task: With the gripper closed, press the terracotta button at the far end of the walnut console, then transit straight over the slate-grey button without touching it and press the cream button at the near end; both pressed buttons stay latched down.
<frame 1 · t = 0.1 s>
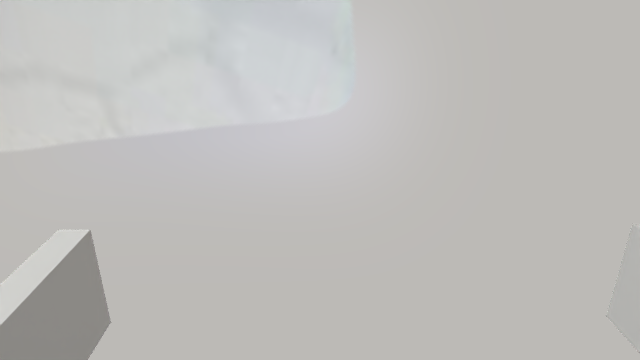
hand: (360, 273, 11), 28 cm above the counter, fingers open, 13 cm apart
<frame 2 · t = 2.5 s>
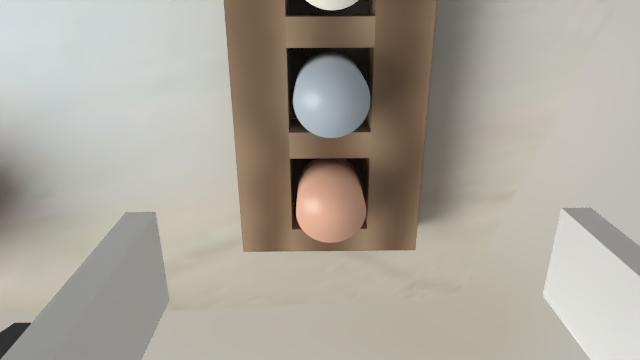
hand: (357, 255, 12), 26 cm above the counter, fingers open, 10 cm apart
console: (328, 81, 36), on the counter
button slate: (330, 93, 32), point 5 cm above the counter, slide at 0.0 cm
button terracotta: (329, 197, 35), point 4 cm above the counter, slide at 0.0 cm
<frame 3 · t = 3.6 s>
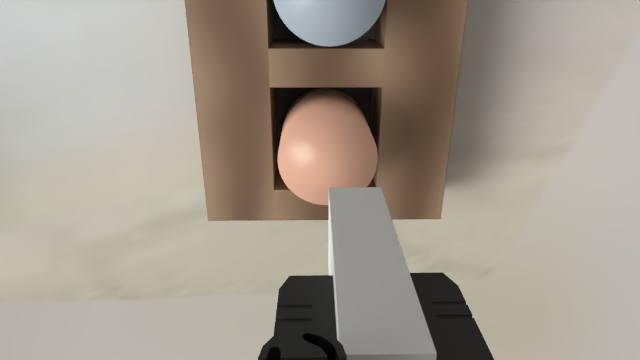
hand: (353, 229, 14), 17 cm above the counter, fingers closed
button terracotta: (326, 143, 25), point 4 cm above the counter, slide at 0.0 cm
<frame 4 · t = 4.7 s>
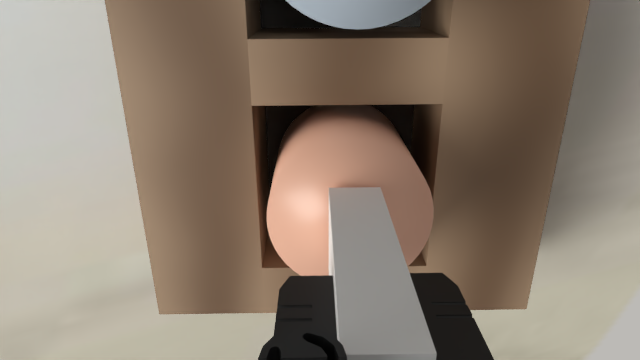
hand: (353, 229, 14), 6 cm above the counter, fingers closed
button terracotta: (344, 186, 16), point 3 cm above the counter, slide at 1.0 cm, touching gripper
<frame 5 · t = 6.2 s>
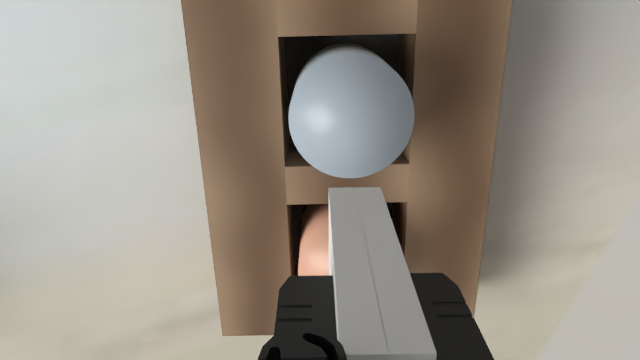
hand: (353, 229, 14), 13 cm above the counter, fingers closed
console: (342, 88, 25), on the counter
button slate: (347, 106, 21), point 4 cm above the counter, slide at 0.0 cm
button terracotta: (346, 247, 25), point 3 cm above the counter, slide at 1.4 cm
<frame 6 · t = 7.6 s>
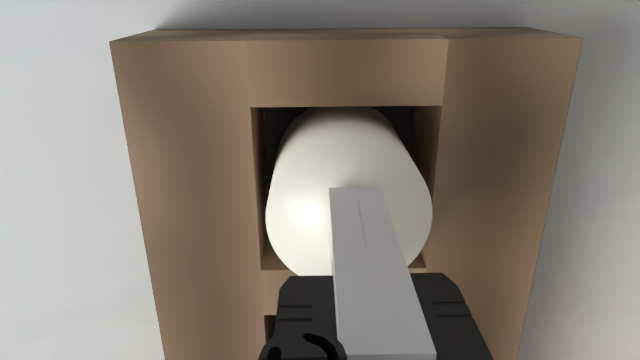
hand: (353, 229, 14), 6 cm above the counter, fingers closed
console: (336, 310, 22), on the counter
button cream: (343, 186, 16), point 3 cm above the counter, slide at 1.1 cm, touching gripper
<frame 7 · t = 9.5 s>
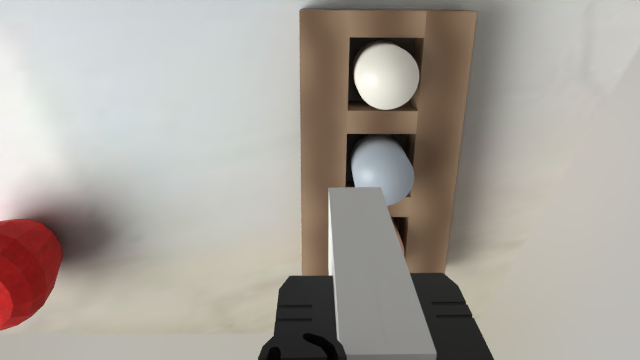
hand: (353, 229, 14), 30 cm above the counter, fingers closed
apple: (36, 240, 48), on the counter
console: (374, 152, 45), on the counter
button slate: (380, 168, 40), point 5 cm above the counter, slide at 0.0 cm
button terracotta: (374, 240, 45), point 3 cm above the counter, slide at 1.4 cm
button cream: (383, 73, 39), point 3 cm above the counter, slide at 1.4 cm
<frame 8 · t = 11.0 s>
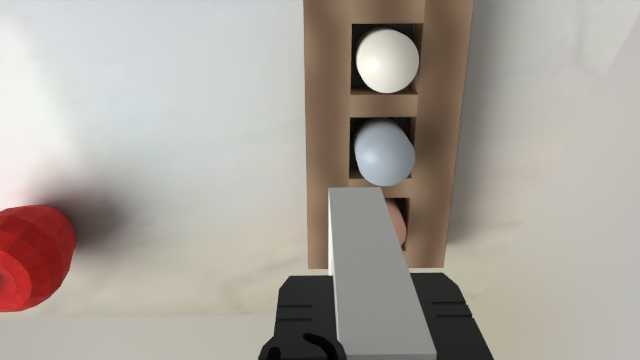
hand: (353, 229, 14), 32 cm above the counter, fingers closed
apple: (50, 226, 50), on the counter
console: (376, 136, 46), on the counter
button slate: (382, 150, 42), point 4 cm above the counter, slide at 0.0 cm
button terracotta: (376, 221, 46), point 3 cm above the counter, slide at 1.4 cm
button cream: (384, 58, 40), point 3 cm above the counter, slide at 1.4 cm
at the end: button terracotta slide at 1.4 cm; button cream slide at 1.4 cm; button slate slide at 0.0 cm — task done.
